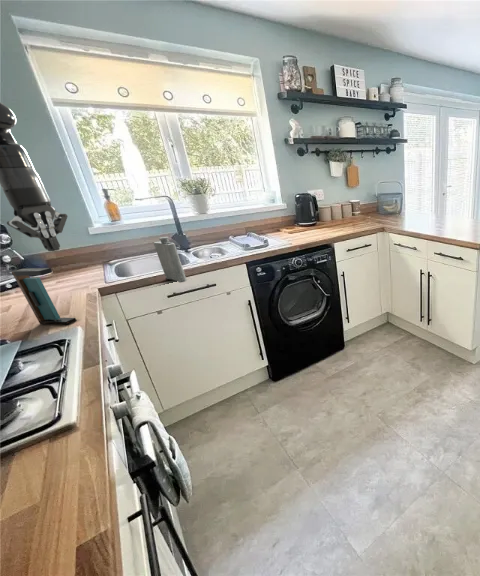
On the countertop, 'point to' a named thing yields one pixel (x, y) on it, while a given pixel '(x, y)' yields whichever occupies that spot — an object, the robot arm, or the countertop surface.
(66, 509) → the countertop surface
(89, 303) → the countertop surface
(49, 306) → the door
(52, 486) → the countertop surface
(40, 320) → the door frame
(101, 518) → the countertop surface
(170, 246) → the hip flask
